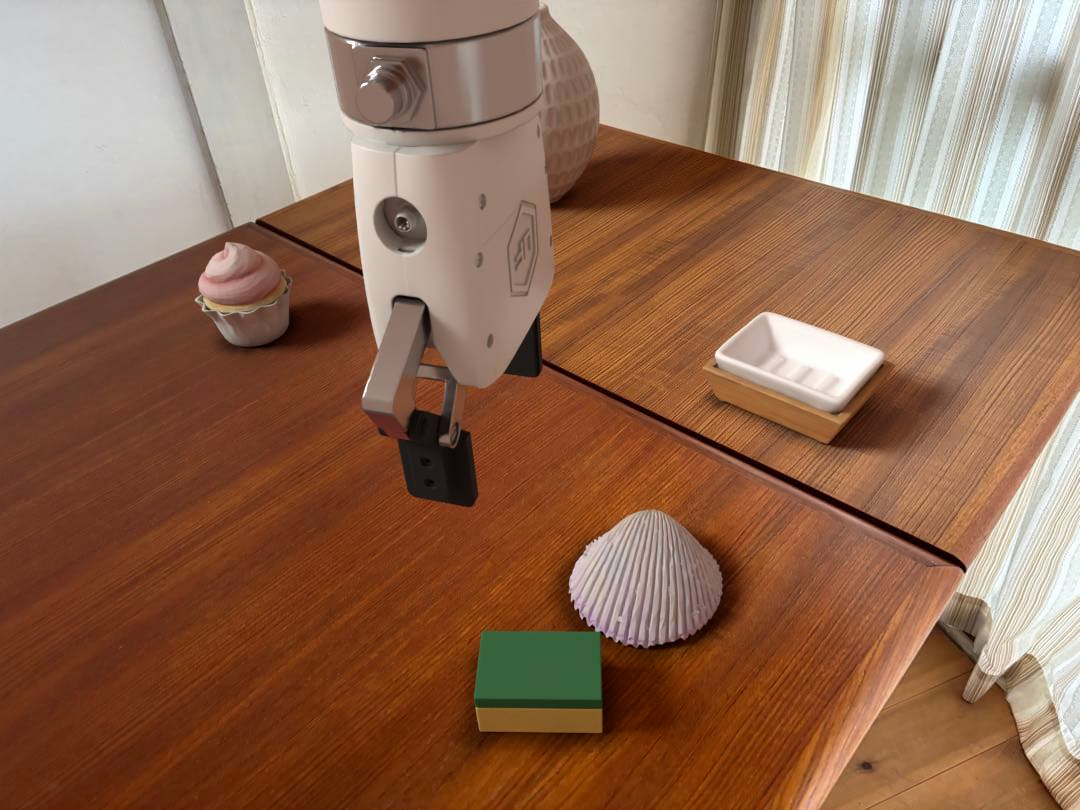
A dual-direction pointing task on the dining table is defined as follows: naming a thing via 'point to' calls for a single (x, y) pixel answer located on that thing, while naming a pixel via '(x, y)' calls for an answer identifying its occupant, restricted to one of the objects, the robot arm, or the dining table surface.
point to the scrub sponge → (539, 682)
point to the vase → (566, 107)
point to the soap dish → (796, 374)
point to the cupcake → (245, 295)
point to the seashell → (646, 581)
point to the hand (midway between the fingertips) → (481, 429)
